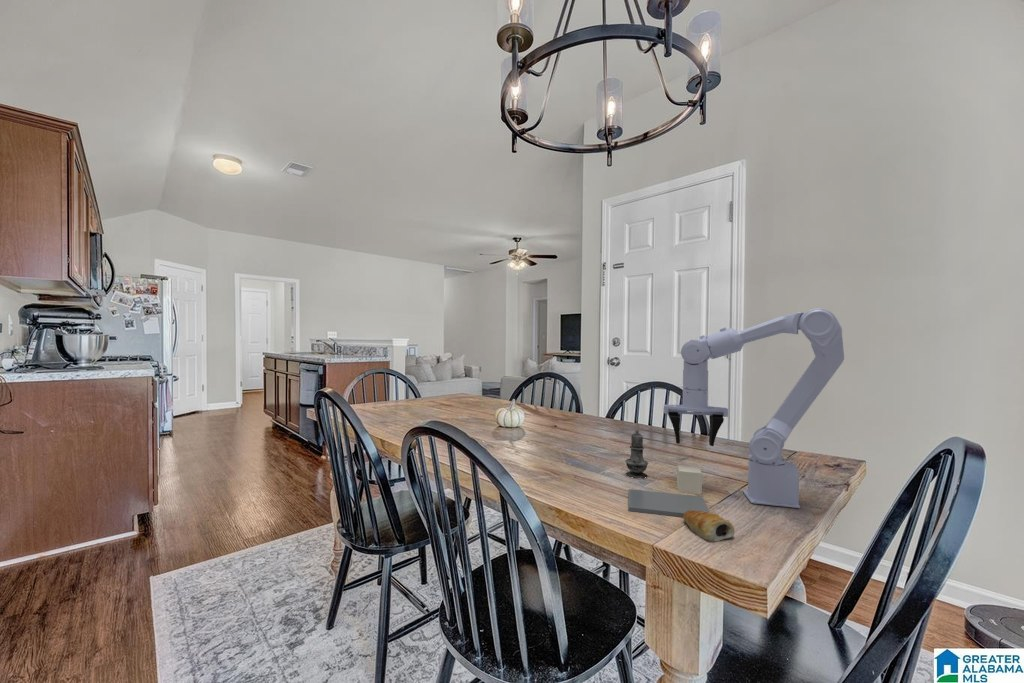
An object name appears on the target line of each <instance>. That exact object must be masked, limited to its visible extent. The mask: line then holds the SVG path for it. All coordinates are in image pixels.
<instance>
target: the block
mask: <svg viewBox="0 0 1024 683" xmlns="http://www.w3.org/2000/svg"><path fill="white" fill-rule="evenodd" d="M676 487H677V490H678V492H679V493H686V494H697V495H702V494H703V472H702V470H701V468H700V466H694V465H693V466H691V465H679V464H676Z"/></svg>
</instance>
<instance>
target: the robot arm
mask: <svg viewBox="0 0 1024 683" xmlns="http://www.w3.org/2000/svg"><path fill="white" fill-rule="evenodd" d="M799 330H800V331H801V332H802V333H803V335H804V337H805V338H806V339H807V340H808V341H809V342H810V345H811V349H812V351H813V353H814V354H813V355H814V358H813V360H812V361H811V362H810V364H809V365H808V366H807V368H806V370H805V371H804V372H803V374H802V375H801V377H799V379H798V381H797V382H796V383H795V384H794V386H793V388H792V389H791V390H790V392H789V393H788V394H787V396H786V397H785V398H784V400H783V401H782V403H780V404H781V405H780V406H779V407H778V408H777V410H776V411H775V413H773V416H772V417H771V418H770V419H769V421H768V422H767V423H766V425H764V426H763V427H761V428H758V429H757V430H756V431H755V432H754V434H753V436H752V438H751V439H750V441H749V442H748V451H749V454H748V463H747V464H748V466H747V469H748V472H747V476H748V477H747V488H746V489H745V488H744V489H742V492H743V494H744V495H745V497H746V498H747V500H748V501H749V502H750V504H757V505H765V506H774V507H784V508H785V507H786V508H793V509H795V508H796V509H800V508H801V505H800V503H799V502H800V497H799V496H800V475H799V474H800V473H799V469H798V467H797V465H796V463H794V462H792V461H786V459H785V458H784V457H783V449H784V446H785V443H786V441H787V440H788V438H789V436H790V435H791V433H792V432H793V430H794V428H795V427H796V426H797V424H799V422H800V420H802V418H803V417H804V415H805V414H806V413H807V411H808V410H809V408H810V407H811V406H812V405H813V403H814V402H815V401H816V399H817V397H818V396H819V395H820V393H821V392H822V391H823V390H824V388H825V387H826V385H827V384H828V383H829V381H830V380H831V379H832V377H833V376H834V375H835V373H836V372H837V371H838V369H839V368H840V367H841V365H842V364H844V363H843V362H844V360H845V352H844V341H843V340H844V339H843V328H842V326H841V324H840V322H839V321H838V318H837V317H836V315H835V314H834V313H833V311H830V310H828V309H825V308H820V307H819V308H817V307H816V308H812V309H810V310H809V309H808V310H807V311H806V312H804V311H799V312H795V313H790V314H786V315H782V316H779V317H776V318H773V319H770V320H768V321H764V322H762V323H759V324H756V325H754V326H751V327H747V328H745V329H742V330H737V329H735V328H727V327H723V328H719V331H718V332H714V333H712V334H709V335H706V336H705V334H704V335H703V334H702V335H700V336H699V339H690V340H689V341H687V342H685V343H684V344H683V345H682V347H681V350H680V355H681V357H682V359H683V369H682V404H663V414H667V415H668V418H669V420H670V422H671V425H672V428H673V431H674V436H675V442H676V444H680V443H681V438H680V436H681V435H680V422H681V418H680V417H681V416H680V414H681V415H697V416H708V417H709V434H708V435H709V436H708V437H709V438H708V442H709V446H710V447H714V446H715V442H716V438H717V434H718V432H719V430H720V428H721V426H722V424H724V421H725V419H724V418H729V408H727V407H720V406H710V405H709V402H708V401H709V370H708V368H709V366H708V364H709V362H708V360H709V359H711V360H713V359H715V360H716V359H718V358H721V357H726V356H728V355H731V354H732V355H733V354H735V353H738V352H741V351H742V349H743V347H744V345H745V344H749V343H751V342H755V341H758V340H761V339H765V338H769V337H773V336H776V335H779V334H791V335H799Z"/></svg>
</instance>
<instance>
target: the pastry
mask: <svg viewBox="0 0 1024 683" xmlns="http://www.w3.org/2000/svg"><path fill="white" fill-rule="evenodd" d="M709 512H710V511H709ZM709 512H706V511H693V510H689V511H686V512H685V513H684V516H683V517H682V518H683V521H684V522H685V523H686V524H687V525H688V527H689V529H690V530H692V531H691V532H694V533H695V534H696V535H697V534H698V535H697V536H699V537H700V536H701V537H700V538H702V539H703V538H704V539H703V540H705V539H706V541H707V540H708V541H707V542H711V541H712V542H714V541H716V542H720V540H721V541H723V540H726V539H730V538H733V536H734V535H735V527H734V525H733V523H732V522H730V521H729V519H725V518H724V517H722V516H720V515H719V514H718V513H714V512H710V513H709Z"/></svg>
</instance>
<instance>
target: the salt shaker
mask: <svg viewBox="0 0 1024 683" xmlns="http://www.w3.org/2000/svg"><path fill="white" fill-rule="evenodd" d="M630 438H631V439H630V442H631V443H630V446H629V448H630V457H629V458H627V459H625V460H624V461H625V463H626V467H627V469H628V470H629V471H628V472H626V474H627V475H628V476H629V478H631V477H633V478H632V479H636V478H643V479H646V478H648V475H647V474H646V473H645V471H646V470H647V468H648V465H649V462H648V461H647V460H645V459H644V449H645V447H644V443H643V441H644V440H643V439H644V438H643V435H642V434H641V433H639V431H638V429H637V430H635V433H633V434H632V435H631V437H630ZM627 475H626V476H627ZM628 476H627V477H628ZM645 477H646V478H645Z"/></svg>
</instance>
